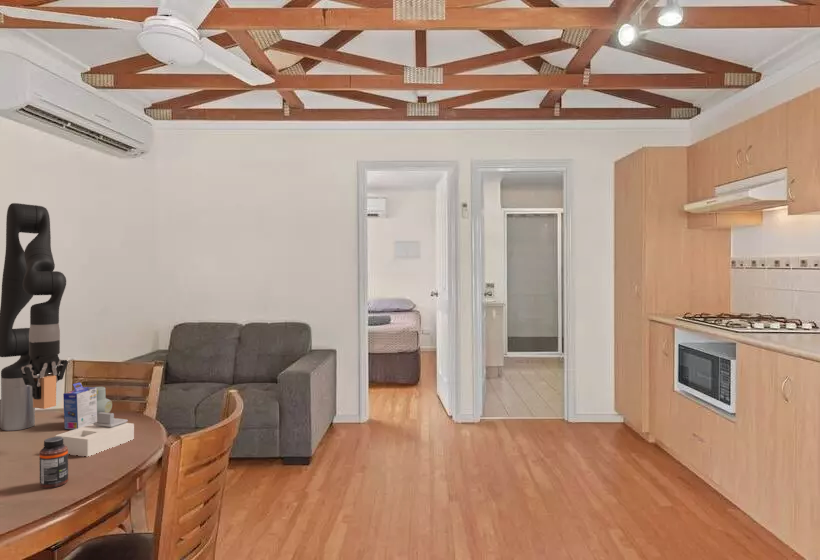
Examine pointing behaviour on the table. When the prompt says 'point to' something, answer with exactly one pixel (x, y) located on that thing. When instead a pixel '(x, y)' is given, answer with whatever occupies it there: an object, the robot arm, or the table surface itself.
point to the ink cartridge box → (80, 407)
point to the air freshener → (102, 400)
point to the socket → (96, 438)
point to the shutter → (108, 420)
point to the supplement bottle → (53, 463)
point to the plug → (46, 393)
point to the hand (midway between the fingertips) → (44, 397)
